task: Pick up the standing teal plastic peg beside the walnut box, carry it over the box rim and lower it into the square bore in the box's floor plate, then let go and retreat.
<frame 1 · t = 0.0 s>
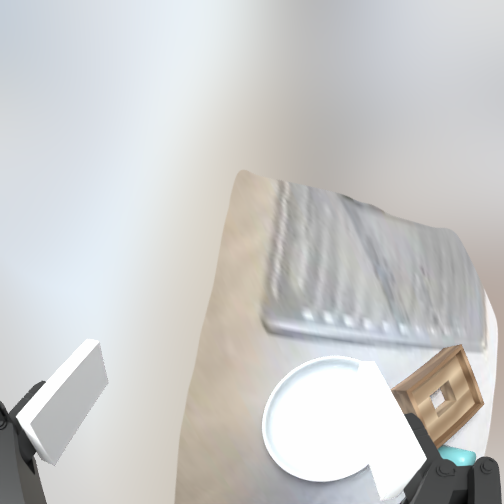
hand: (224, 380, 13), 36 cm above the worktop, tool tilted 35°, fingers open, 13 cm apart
peg: (432, 451, 39), on the worktop
serving bowl: (321, 415, 44), on the worktop
bore box: (432, 398, 44), on the worktop
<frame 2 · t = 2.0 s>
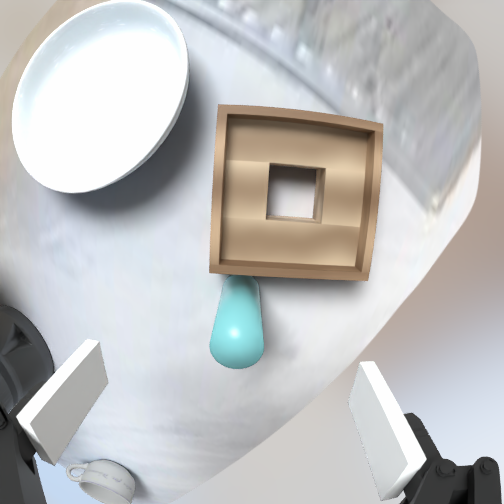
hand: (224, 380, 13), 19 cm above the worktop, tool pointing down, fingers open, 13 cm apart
peg: (240, 290, 33), on the worktop
teacup: (108, 464, 42), on the worktop
serving bowl: (112, 100, 28), on the worktop
bore box: (290, 191, 30), on the worktop
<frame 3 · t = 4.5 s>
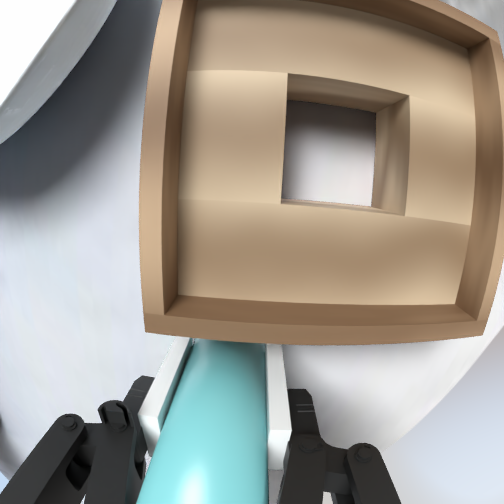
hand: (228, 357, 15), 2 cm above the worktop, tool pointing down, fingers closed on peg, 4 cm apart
peg: (230, 342, 17), on the worktop, touching gripper
serving bowl: (36, 34, 12), on the worktop
bore box: (328, 152, 14), on the worktop
when the fingers open (5 cm above the worktop, at t = 9.3 s): peg stays where it is, resting in bore box.
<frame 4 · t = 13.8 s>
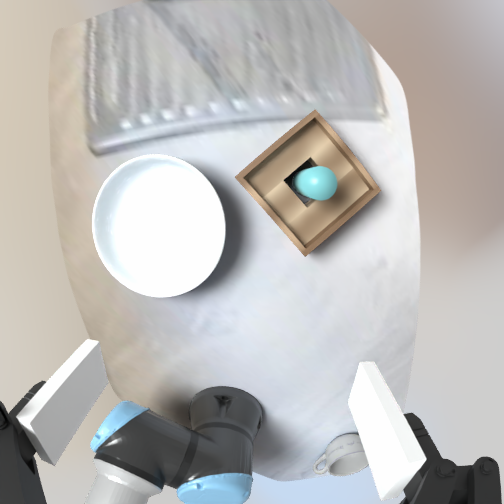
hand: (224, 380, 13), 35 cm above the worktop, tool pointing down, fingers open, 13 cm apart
peg: (305, 182, 45), resting in bore box
teacup: (337, 442, 58), on the worktop
serving bowl: (166, 221, 47), on the worktop
bore box: (304, 182, 45), on the worktop
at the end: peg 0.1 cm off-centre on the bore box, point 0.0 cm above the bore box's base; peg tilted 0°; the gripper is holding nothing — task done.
